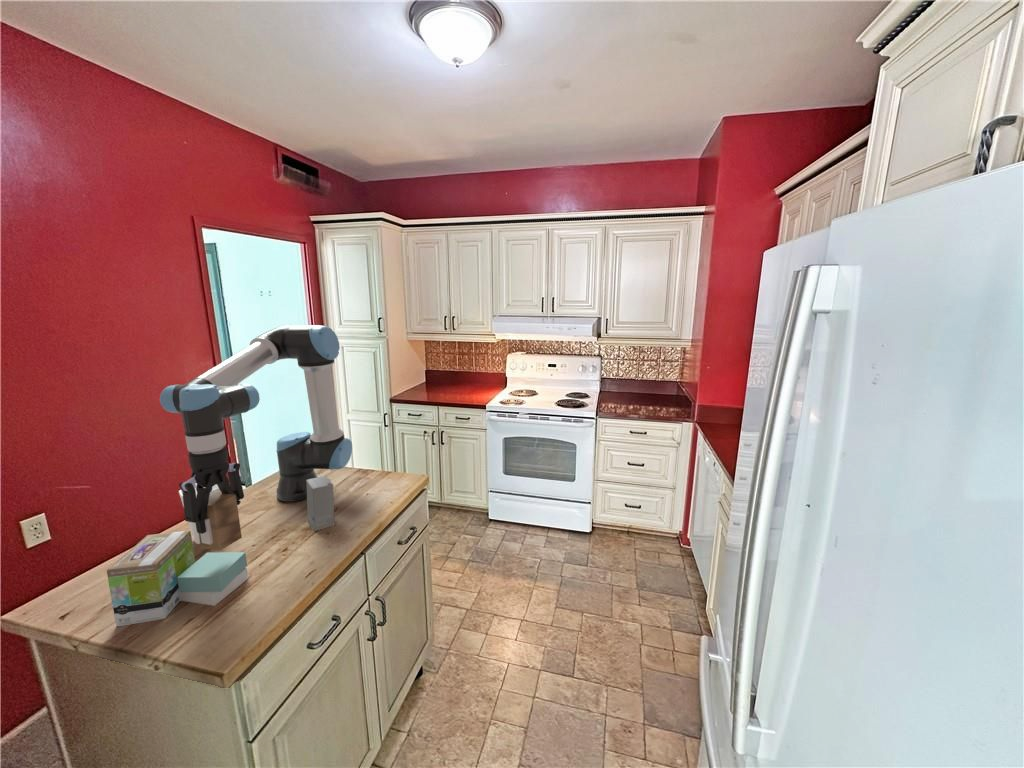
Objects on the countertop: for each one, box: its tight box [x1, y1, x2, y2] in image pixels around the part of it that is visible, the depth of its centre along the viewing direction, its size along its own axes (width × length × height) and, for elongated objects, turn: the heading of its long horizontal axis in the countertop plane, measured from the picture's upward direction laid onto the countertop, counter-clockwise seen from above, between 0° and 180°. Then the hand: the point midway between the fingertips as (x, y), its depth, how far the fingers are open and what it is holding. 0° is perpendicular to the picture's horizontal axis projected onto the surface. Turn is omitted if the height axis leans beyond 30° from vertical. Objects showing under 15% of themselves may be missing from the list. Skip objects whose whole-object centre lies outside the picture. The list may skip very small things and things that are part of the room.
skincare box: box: [306, 475, 335, 532], centre depth 132 cm, size 8×7×16 cm
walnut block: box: [199, 492, 243, 552], centre depth 100 cm, size 6×6×12 cm
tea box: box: [106, 530, 196, 627], centre depth 97 cm, size 15×10×15 cm, turn 14°
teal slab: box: [177, 551, 248, 592], centre depth 101 cm, size 10×10×4 cm
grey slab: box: [178, 567, 249, 607], centre depth 102 cm, size 10×10×4 cm
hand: (220, 535), depth 101 cm, fingers closed on walnut block, 6 cm apart
